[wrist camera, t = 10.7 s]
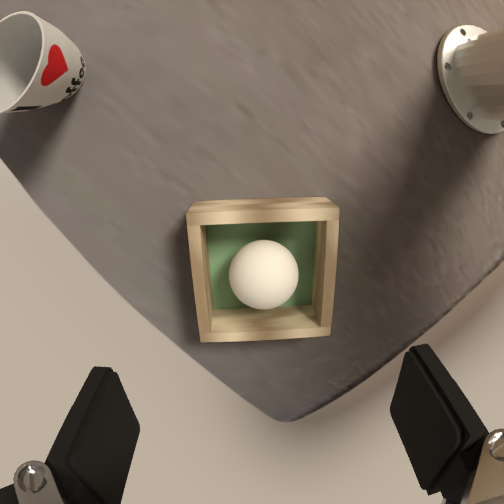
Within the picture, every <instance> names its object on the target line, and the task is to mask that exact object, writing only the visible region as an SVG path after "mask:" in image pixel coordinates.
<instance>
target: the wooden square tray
mask: <svg viewBox="0 0 504 504" xmlns="http://www.w3.org/2000/svg"><path fill="white" fill-rule="evenodd" d="M186 220H187V230H188V241H189V251H190V260H191V269H192V278H193V287H194V295H195V303H196V311H197V319H198V326H199V333H200V340H201V342H233V341H258V340H276V339H292V338H305V337H318V336H329V335H330V332H331V323H332V313H333V302H334V291H335V278H336V265H337V249H338V231H339V207H337V206H336V205H335V204H334V203H332V202H331V201H330V200H328V199H327V198H326V197H306V198H266V199H240V200H218V201H200V202H193V204H192V205H191V207H190V208H189V210H188V211H187V213H186ZM258 240H270V241H274V242H277V243H279V244H281V245H283V246H284V247H285V248H287V249H288V250H289V251H290V252H291V254H292V255H293V257H294V259H295V261H296V263H297V267H298V274H299V276H298V283H297V286H296V289H295V291H294V293H293V294H292V296H291V297H290V298H289V299H288V300H287V301H286V302H285V303H283V304H282V305H280V306H278V307H275V308H272V309H265V310H264V309H255V308H252V307H250V306H248V305H246V304H244V303H243V302H241V301H240V300H239V299H238V298H237V296H236V295H235V294H234V292H233V290H232V288H231V285H230V281H229V268H230V265H231V262H232V259H233V257H234V256H235V254H236V253H237V252H238V251H239V250H240V249H241V248H242V247H243V246H245V245H247V244H248V243H251V242H254V241H258Z"/></svg>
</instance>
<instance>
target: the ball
mask: <svg viewBox="0 0 504 504" xmlns="http://www.w3.org/2000/svg"><path fill="white" fill-rule="evenodd" d="M298 276H299V274H298V267H297V263H296V261H295V259H294V257H293V255H292V254H291V252H290V251H289V250H288V249H287V248H285V247H284V246H283V245H281V244H279V243H277V242H274V241H270V240H258V241H254V242H251V243H248V244H247V245H245V246H243V247H242V248H241V249H240V250H239V251H238V252H237V253H236V254H235V256H234V257H233V259H232V262H231V265H230V268H229V281H230V285H231V288H232V290H233V292H234V294H235V295H236V296H237V298H238V299H239V300H240V301H241V302H243V303H244V304H246V305H248V306H250V307H252V308H255V309H264V310H265V309H272V308H275V307H278V306H280V305H282V304H283V303H285V302H286V301H287V300H288V299H289V298H290V297H291V296H292V294H293V293H294V291H295V289H296V286H297V283H298Z"/></svg>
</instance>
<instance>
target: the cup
mask: <svg viewBox="0 0 504 504" xmlns="http://www.w3.org/2000/svg"><path fill="white" fill-rule="evenodd" d="M85 75H86V64H85V61H84V59H83V57H82V55H81V53H80V51H79V50H78V48H77V46H76V45H75V44H74V43H73V42H72V41H71V40H70V39H69V38H67V37H66V36H65V35H64V34H63V33H62V32H61V31H60V30H59V29H57V28H56V27H54V26H52V25H51V24H49V23H48V22H46V21H44V20H43V19H41V18H39V17H38V16H36V15H34V14H33V13H30V12H26V11H21V12H16V13H13V14H10V15H8V16H7V17H5V18H3V19H2V20H1V21H0V114H1V113H11V112H21V111H29V110H33V109H37V108H42V107H46V106H50V105H54V104H56V103H58V102H60V101H62V100H64V99H67V98H69V97H71V96H72V95H73V94H75V93H76V92H77V91H78V89H79V88H80V87H81V85H82V83H83V81H84V79H85Z"/></svg>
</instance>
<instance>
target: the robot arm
mask: <svg viewBox="0 0 504 504" xmlns="http://www.w3.org/2000/svg"><path fill="white" fill-rule="evenodd" d="M437 68H438V74H439V79H440V83H441V86H442V89H443V92H444V94H445V96H446V98H447V101H448V102H449V104H450V106H451V107H452V109H453V111H454V112H455V113H456V114H457V116H458V117H459V118H460V119H461V120H462V121H463V122H464V123H465V124H466V125H467V126H469V127H470V128H472V129H474V130H475V131H478V132H481V133H487V134H497V133H500V132H502V131H504V28H501V29H498V30H494V31H490V32H487V31H485V30H483V29H481V28H479V27H476V26H473V25H461V26H457V27H455V28H452V29H450V30H449V31H448V32H447V33H446V34H445V35H444V36H443V38H442V40H441V42H440V45H439V48H438V55H437ZM390 413H391V417H392V419H393V421H394V424H395V426H396V428H397V430H398V433H399V435H400V438H401V440H402V442H403V445H404V447H405V449H406V452H407V454H408V457H409V459H410V461H411V464H412V467H413V469H414V472H415V474H416V477H417V479H418V482H419V484H420V487H421V488H422V489H423V490H425V489H426V491H427V493H428V495H431V494H434V493H437V492H439V491H441V493H442V496H443V501H442V503H441V504H504V429H497V430H494V431H492V432H490V433H489V432H488V431H487V429H486V427H485V426H484V424H483V423H482V421H481V419H480V418H479V416H478V415H477V413H476V412H475V410H474V409H473V407H472V406H471V404H470V403H469V401H468V399H467V398H466V396H465V395H464V393H463V392H462V390H461V389H460V388H459V386H458V385H457V383H456V382H455V380H454V379H453V378H452V377H451V375H450V374H449V372H448V371H447V370H446V368H445V367H444V365H443V364H442V363H441V361H440V360H439V358H438V357H437V356H436V354H435V353H434V351H433V350H432V349H431V347H430V346H429V345H428V344H422V345H417V346H412V347H411V348H410V349H409V352H406V353H405V356H404V359H403V363H402V367H401V371H400V375H399V378H398V383H397V385H396V389H395V393H394V396H393V399H392V402H391V406H390ZM139 432H140V426H139V422H138V420H137V418H136V416H135V414H134V411H133V409H132V407H131V405H130V403H129V400H128V398H127V395H126V393H125V391H124V389H123V386H122V383H121V381H120V379H119V376H118V374H117V373H116V372H113V370H112V369H111V368H110V367H96V366H95V367H93V369H92V370H91V372H90V374H89V376H88V378H87V379H86V381H85V383H84V385H83V387H82V389H81V391H80V392H79V394H78V396H77V398H76V400H75V402H74V404H73V406H72V407H71V409H70V411H69V413H68V415H67V417H66V419H65V421H64V423H63V426H62V427H61V429H60V431H59V433H58V435H57V437H56V440H55V442H54V444H53V446H52V448H51V450H50V452H49V455H48V457H47V459H46V461H45V463H43V462H40V461H28V462H25V463H23V464H22V465H21V466H20V467H18V468H17V470H16V472H15V475H14V484H12V485H9V486H7V487H4V488H1V489H0V504H121V499H122V495H123V492H124V488H125V484H126V480H127V476H128V473H129V469H130V465H131V461H132V458H133V454H134V451H135V447H136V443H137V440H138V436H139Z"/></svg>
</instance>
